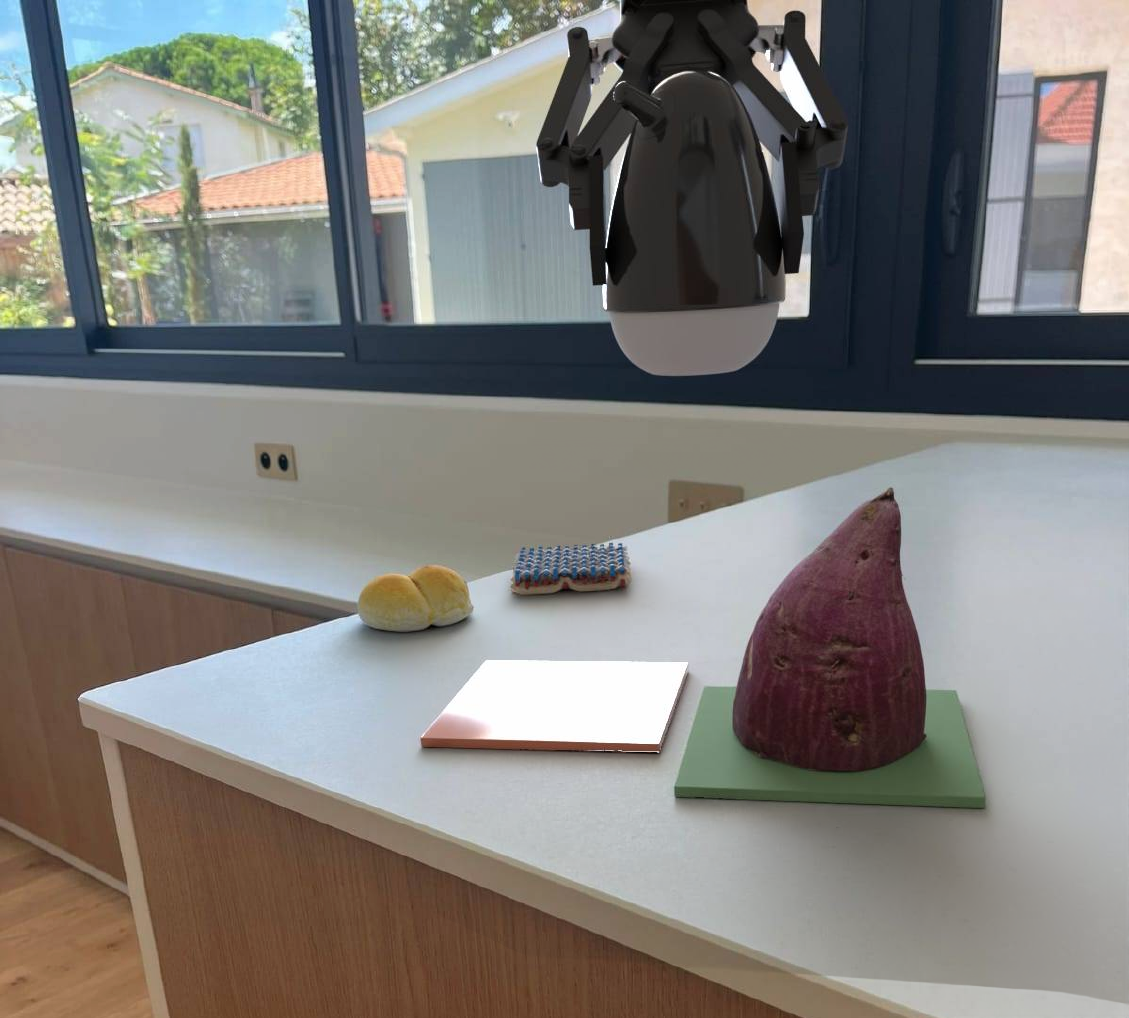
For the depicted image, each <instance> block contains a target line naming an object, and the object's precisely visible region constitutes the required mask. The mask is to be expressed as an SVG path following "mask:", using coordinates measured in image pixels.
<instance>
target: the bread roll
mask: <svg viewBox="0 0 1129 1018" xmlns="http://www.w3.org/2000/svg"><path fill="white" fill-rule="evenodd" d="M356 607H357V614H358V616H359V618H360V620H361V621H362V623H363V624H365V625H366V626H368V627H370V628H373V629H375V630H382V631H389V632H396V633H397V632H399V633H401V632H402V633H407V632H414V631H416V632H417V631H418V632H419V631H423V630H426V629H427V628H429V627H430V626H431V625H432V626H435V627H446V626H449V625H453V624H456V623H459V622H460V621H462V620H464V619H466V618H467V617H469V616H470V615H471V614H472V613H473V612H474V607H475V606H474V604H472V602H471V598H470V589H469V586H468V583H467V582H466V581H465V579H463V578H462V577H461V576H460V574H458V573H457V572H456V571H454V570H453V569H451V568H448V567H446V566H442V565H435V564H430V565H429V564H428V565H423V566H421V567H418V568H417V569H416V570H414V571H412V572H411V573H410V574H408V575H405V574H400V573H384V574H381V575H379V576H376V577H375V578H373V579H372V580H370V581H369V582H368V583H367V584H366V585H365V586H364V587H363V588H362V590H361V592H360V594H359V597H358V601H357V606H356Z"/></svg>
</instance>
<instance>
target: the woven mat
mask: <svg viewBox="0 0 1129 1018" xmlns="http://www.w3.org/2000/svg"><path fill="white" fill-rule="evenodd" d="M514 556H515V557H514V564H513V568H512V571H513V572H512V576H511V578H510V579H509V580H510V582H511V583H510V584H509V585H508V588H509V589H510V591H512V592H513V593H516V594H519V595H522V596H529V595H544V594H553V593H556V592H559V591H561V590H568V589H570V590H573V591H576V592H579V593H580V592H597V591H610V590H615V589H616V588H617V587H621V586H622V587H627V586H628V585H629V584H631V583H632V581H633V578H632V577H630V576H631V575H632V572H631V568H630V565H631V562H630V556H629V552H628V546H627V545H625V546H623V543H622V542H620V543H617V546H615V545H614V542H608V546H607V547H606V546H605V544H604V543H600V544H599V546H597V545H596V543H591V545H590V546H589V547H588V545H587V544H584V545H583V544H582V548H581V547H579V545H578V544H573V546H572V547H570V546H569V545H566V546H564V548H562V547H561V545H556V547H555V548H553V549H552V546H550V547H549V546H548V547H547V548H546V550H544V546H538V550H536V551H535V548H534V547H531V548H529V551H527V549H526V547H521V550H520V551H519V550H518V552H516V553H514Z"/></svg>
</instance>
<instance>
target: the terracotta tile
mask: <svg viewBox="0 0 1129 1018" xmlns="http://www.w3.org/2000/svg"><path fill="white" fill-rule="evenodd" d="M689 668H690V667H689V663H688V662H659V661H657V662H655V661H654V662H647V661H633V662H632V661H568V660H567V661H562V660H561V661H560V660H558V661H555V660H551V661H550V660H485V661H484V662H483V663H482V664H481V665H480V667H479V668H478V669H477V670H476V671H475V673H474V674H473V675H472V676H471V677H470V678H469V680H468V681H467V682H466V683H465V685H463V687H462V688H461V689H460V690H459V692H458V693H457V694H456V695H455V696H454V698H453V699H451V700H450V702H449V704H447V706H446V707H445V708H444V709H443V711H441V713H440V714H439V715H438V716H437V717H436V718H435V720H433V722H432V723H431V724H430V726H429V727H428V728H427V729H426V730H425V732H424V733H423V734H422V735H421V736H420V739H419V740H420V745H421V747H423V748H449V749H450V748H452V749H453V748H455V749H486V750H487V749H491V750H492V749H493V750H520V749H522V750H524V749H528V750H527V751H555V750H572V751H571V752H574V751H573V750H579V751H578V752H582V751H581V750H587V751H586V752H589V751H588V750H604V751H605V750H614V751H618V750H622V751H660V748H661V746H662V747H663V745H662V743H663V744H664V742H663V740H664V741H665V739H664V737H665V738H666V736H665V734H666V732H667V733H668V731H667V730H669V728H670V725H671V722H670V720H671V721H672V719H673V717H674V714H673V713H675V711H674V710H676V708H675V706H676V707H677V705H678V702H677V700H678V701H679V699H680V696H681V693H682V691H681V690H683V688H682V687H684V685H685V681H686V679H687V676H688V673H689V670H690V669H689ZM683 684H684V685H683ZM676 704H677V705H676ZM671 718H672V719H671ZM669 724H670V725H669ZM668 727H669V728H668ZM666 735H667V734H666ZM533 749H534V750H533ZM661 749H662V748H661ZM660 752H661V751H660Z"/></svg>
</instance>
